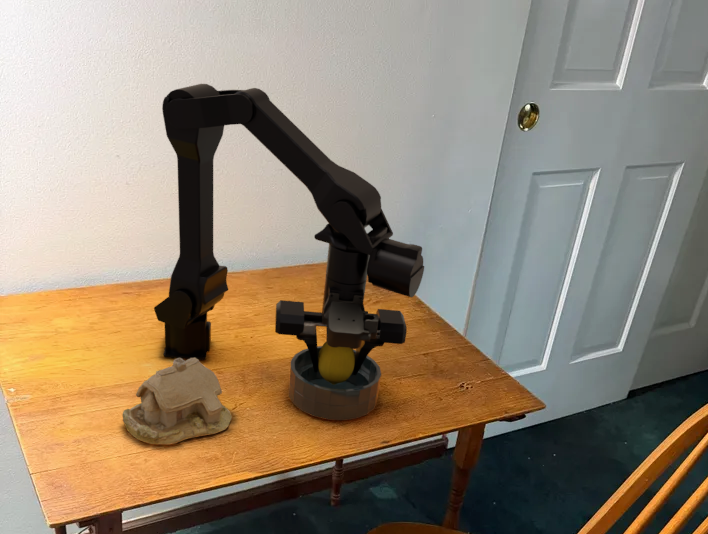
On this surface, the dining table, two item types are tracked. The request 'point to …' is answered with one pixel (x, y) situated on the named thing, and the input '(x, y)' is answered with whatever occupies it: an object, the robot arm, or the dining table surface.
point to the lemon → (335, 363)
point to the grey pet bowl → (333, 389)
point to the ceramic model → (178, 405)
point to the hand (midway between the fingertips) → (334, 372)
